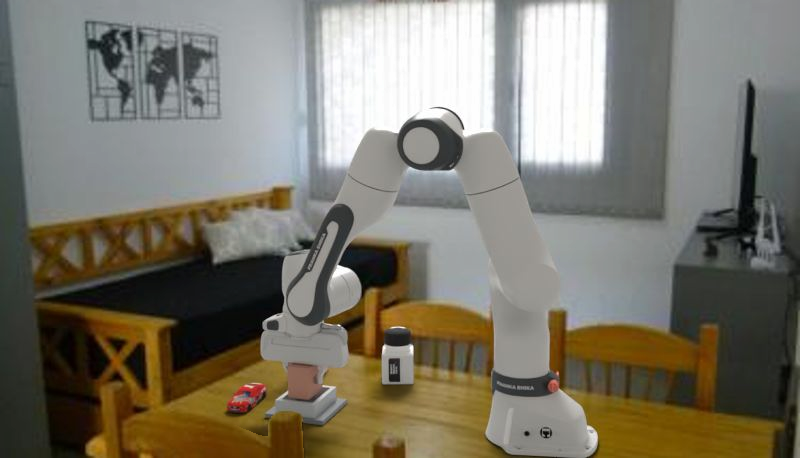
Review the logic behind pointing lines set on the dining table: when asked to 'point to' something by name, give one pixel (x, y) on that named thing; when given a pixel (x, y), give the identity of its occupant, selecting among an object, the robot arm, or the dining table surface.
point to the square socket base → (311, 406)
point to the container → (397, 357)
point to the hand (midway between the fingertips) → (305, 381)
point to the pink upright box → (302, 381)
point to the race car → (247, 397)
